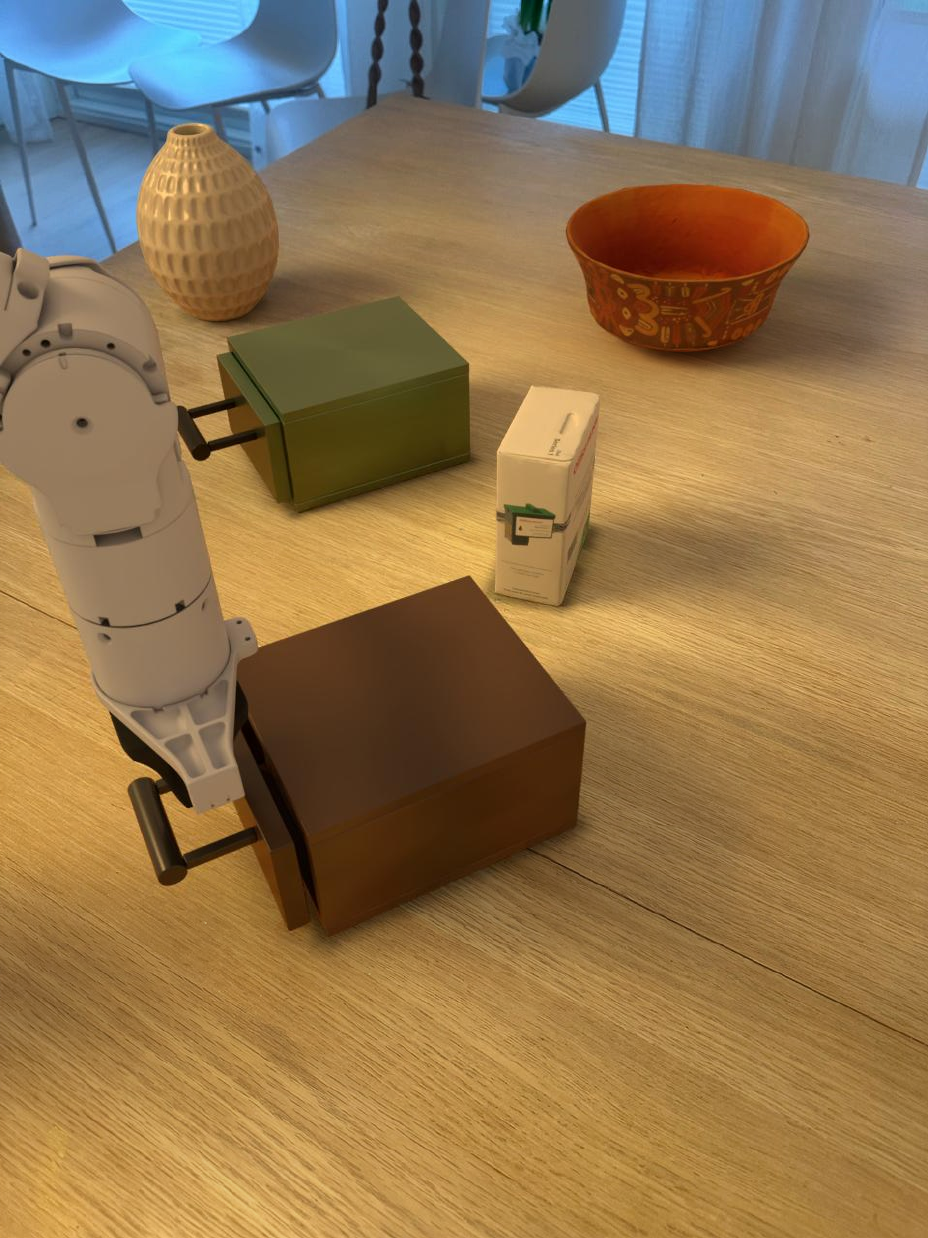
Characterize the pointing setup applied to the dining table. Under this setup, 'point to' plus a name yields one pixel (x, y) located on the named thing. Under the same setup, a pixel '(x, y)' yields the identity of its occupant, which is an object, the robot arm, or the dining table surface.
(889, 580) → the dining table surface
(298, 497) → the green drawer cabinet
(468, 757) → the brown drawer cabinet
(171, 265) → the vase
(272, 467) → the drawer
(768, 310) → the bowl
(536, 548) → the ink box
